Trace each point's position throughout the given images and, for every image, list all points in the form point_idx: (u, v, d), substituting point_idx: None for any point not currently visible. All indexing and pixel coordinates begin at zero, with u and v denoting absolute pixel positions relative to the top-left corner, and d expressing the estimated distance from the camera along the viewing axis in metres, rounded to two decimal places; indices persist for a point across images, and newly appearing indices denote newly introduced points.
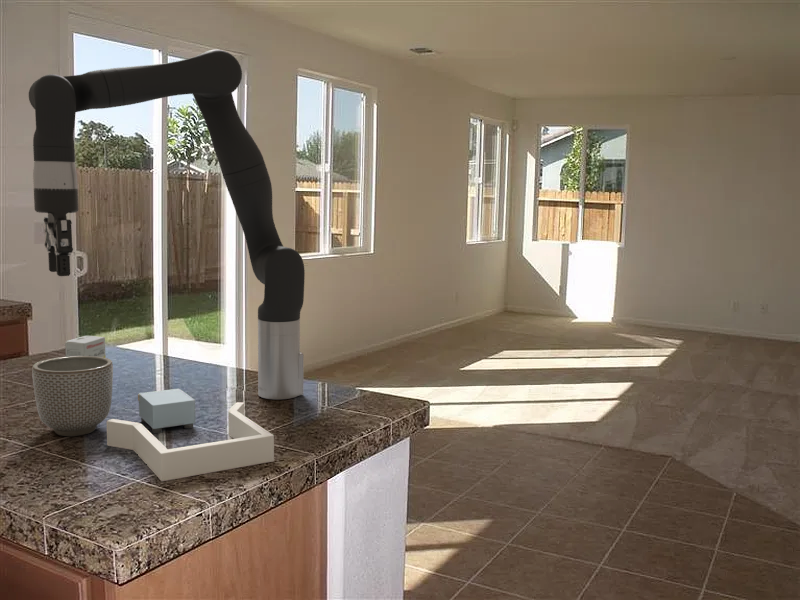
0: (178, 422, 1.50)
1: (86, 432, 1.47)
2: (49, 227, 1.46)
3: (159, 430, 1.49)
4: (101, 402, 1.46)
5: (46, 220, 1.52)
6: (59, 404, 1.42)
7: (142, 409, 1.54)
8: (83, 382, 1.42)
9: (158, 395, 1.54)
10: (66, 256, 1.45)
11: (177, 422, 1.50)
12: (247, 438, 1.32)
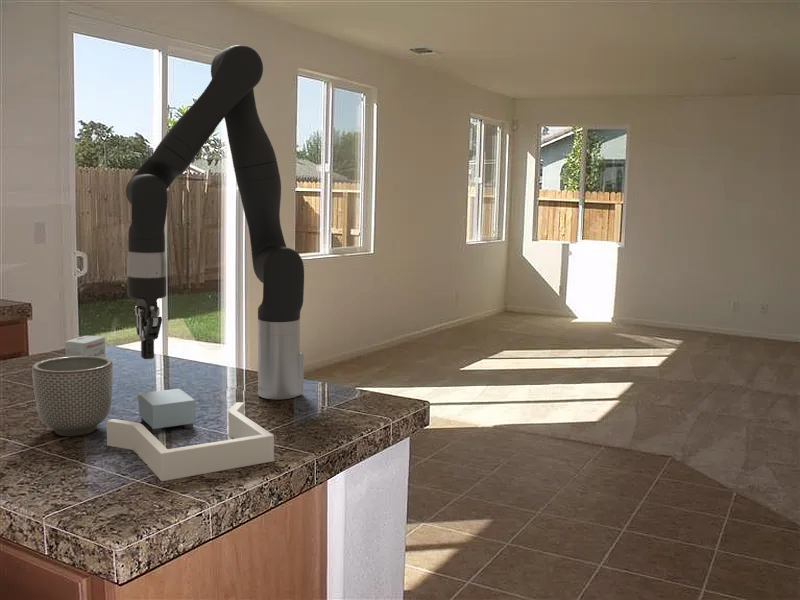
0: (178, 422, 1.50)
1: (86, 432, 1.47)
2: (141, 314, 1.59)
3: (159, 430, 1.49)
4: (101, 402, 1.46)
5: None
6: (59, 404, 1.42)
7: (142, 409, 1.54)
8: (83, 382, 1.42)
9: (158, 395, 1.54)
10: (151, 341, 1.61)
11: (177, 422, 1.50)
12: (247, 438, 1.32)
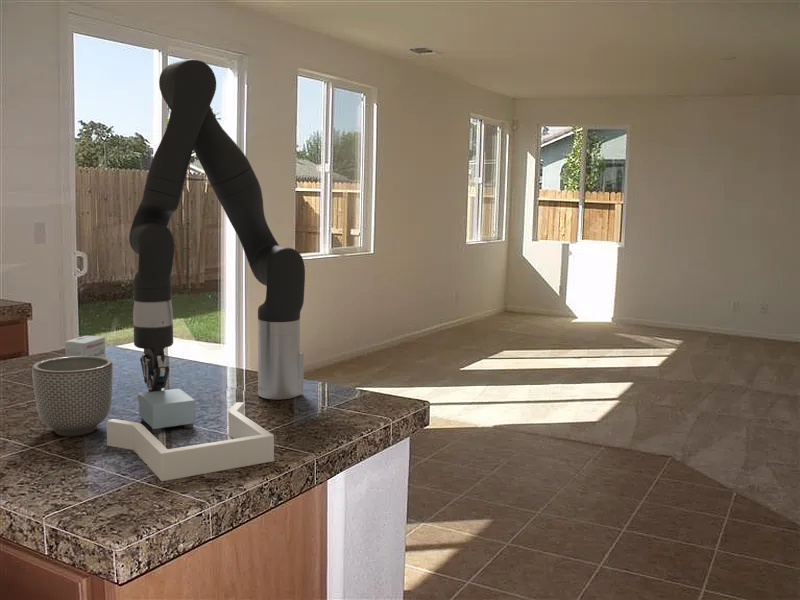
0: (178, 422, 1.50)
1: (86, 432, 1.47)
2: (147, 364, 1.57)
3: (159, 430, 1.49)
4: (101, 402, 1.46)
5: None
6: (59, 404, 1.42)
7: (142, 409, 1.54)
8: (83, 382, 1.42)
9: (158, 395, 1.54)
10: (159, 390, 1.59)
11: (177, 422, 1.50)
12: (247, 438, 1.32)
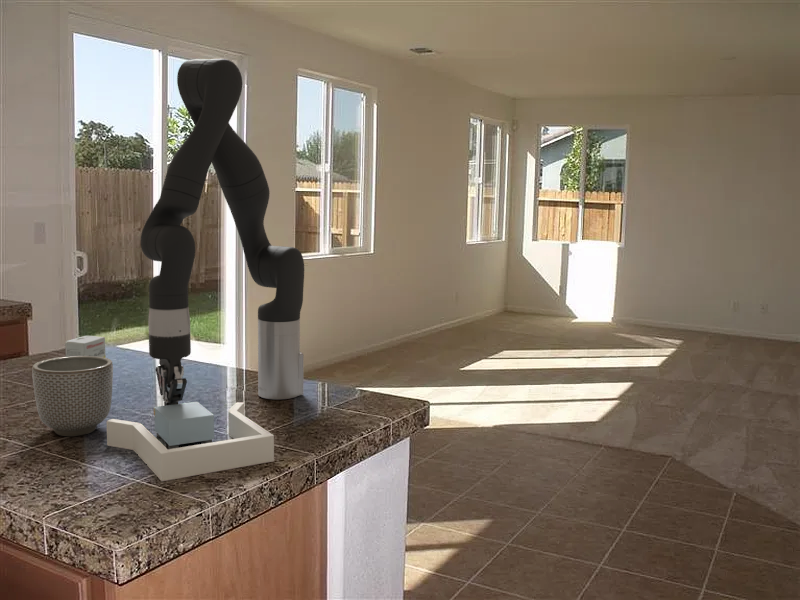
0: (196, 438, 1.41)
1: (86, 432, 1.47)
2: (164, 375, 1.47)
3: (176, 447, 1.39)
4: (101, 402, 1.46)
5: (158, 368, 1.54)
6: (59, 404, 1.42)
7: (158, 424, 1.44)
8: (83, 382, 1.42)
9: (175, 409, 1.45)
10: (175, 403, 1.50)
11: (195, 438, 1.41)
12: (247, 438, 1.32)
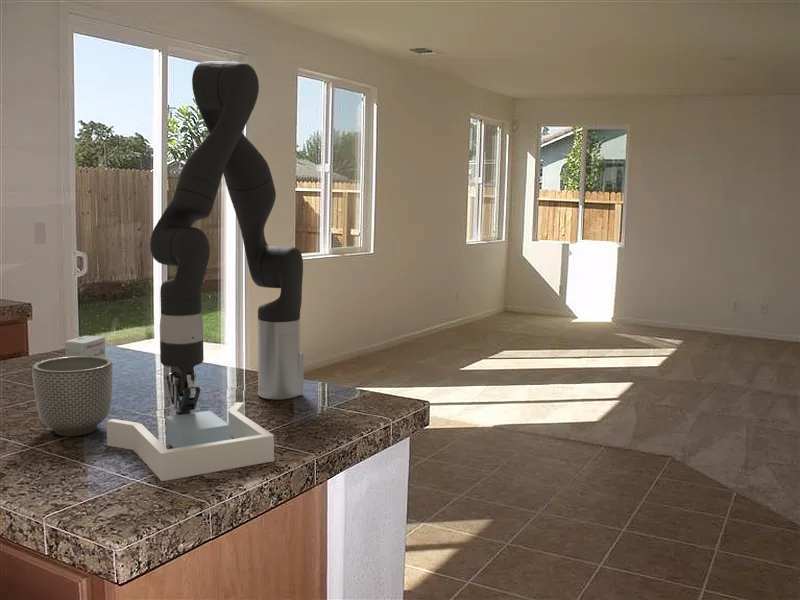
0: None
1: (86, 432, 1.47)
2: (176, 384, 1.41)
3: None
4: (101, 402, 1.46)
5: (169, 376, 1.48)
6: (59, 404, 1.42)
7: (170, 434, 1.38)
8: (83, 382, 1.42)
9: (188, 419, 1.39)
10: (188, 412, 1.44)
11: None
12: (247, 438, 1.32)
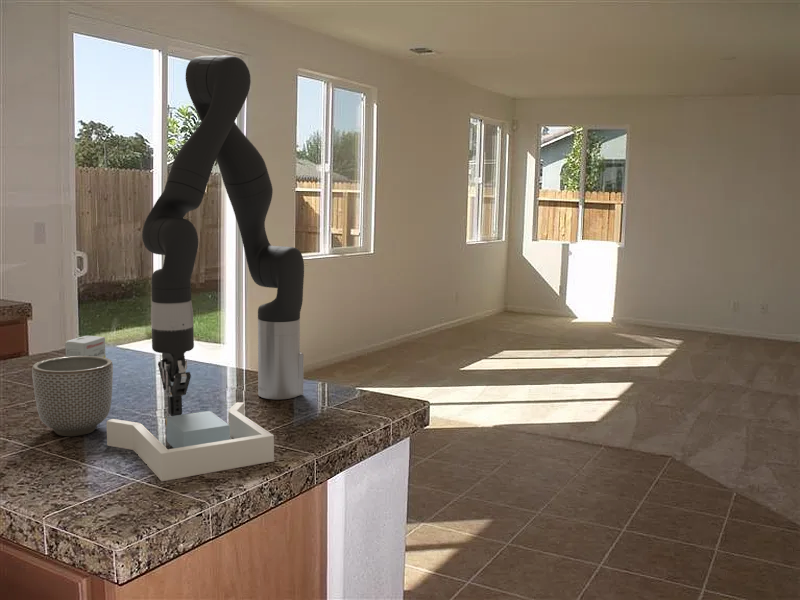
0: None
1: (86, 432, 1.47)
2: (167, 369, 1.46)
3: None
4: (101, 402, 1.46)
5: None
6: (59, 404, 1.42)
7: (170, 435, 1.38)
8: (83, 382, 1.42)
9: (188, 419, 1.39)
10: (179, 397, 1.49)
11: None
12: (247, 438, 1.32)
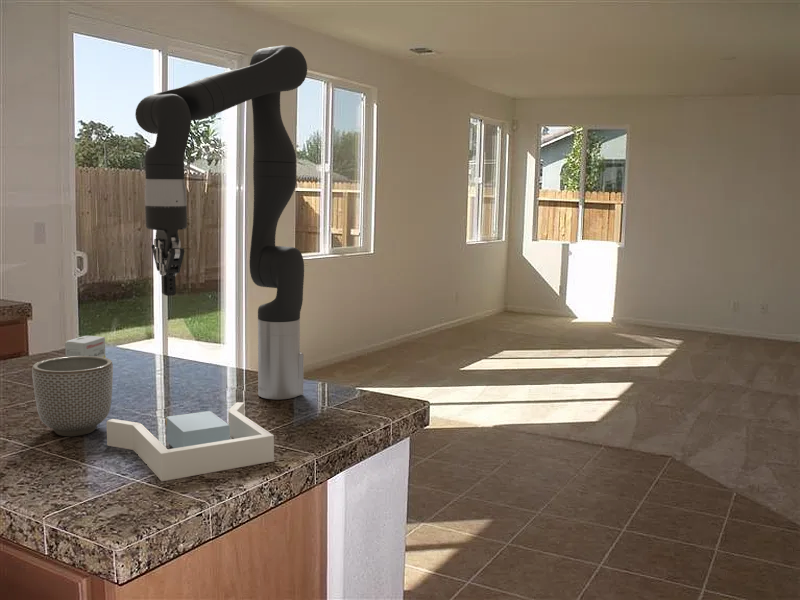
0: None
1: (86, 432, 1.47)
2: (161, 247, 1.48)
3: None
4: (101, 402, 1.46)
5: (154, 245, 1.54)
6: (59, 404, 1.42)
7: (170, 435, 1.38)
8: (83, 382, 1.42)
9: (188, 419, 1.39)
10: (173, 276, 1.50)
11: None
12: (247, 438, 1.32)
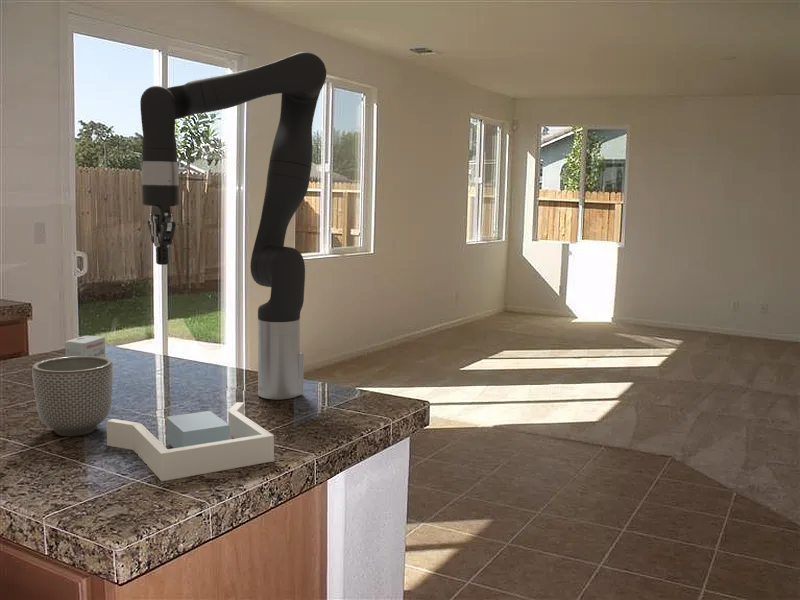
0: None
1: (86, 432, 1.47)
2: (155, 221, 1.68)
3: None
4: (101, 402, 1.46)
5: (150, 221, 1.74)
6: (59, 404, 1.42)
7: (170, 435, 1.38)
8: (83, 382, 1.42)
9: (188, 419, 1.39)
10: (165, 247, 1.70)
11: None
12: (247, 438, 1.32)
